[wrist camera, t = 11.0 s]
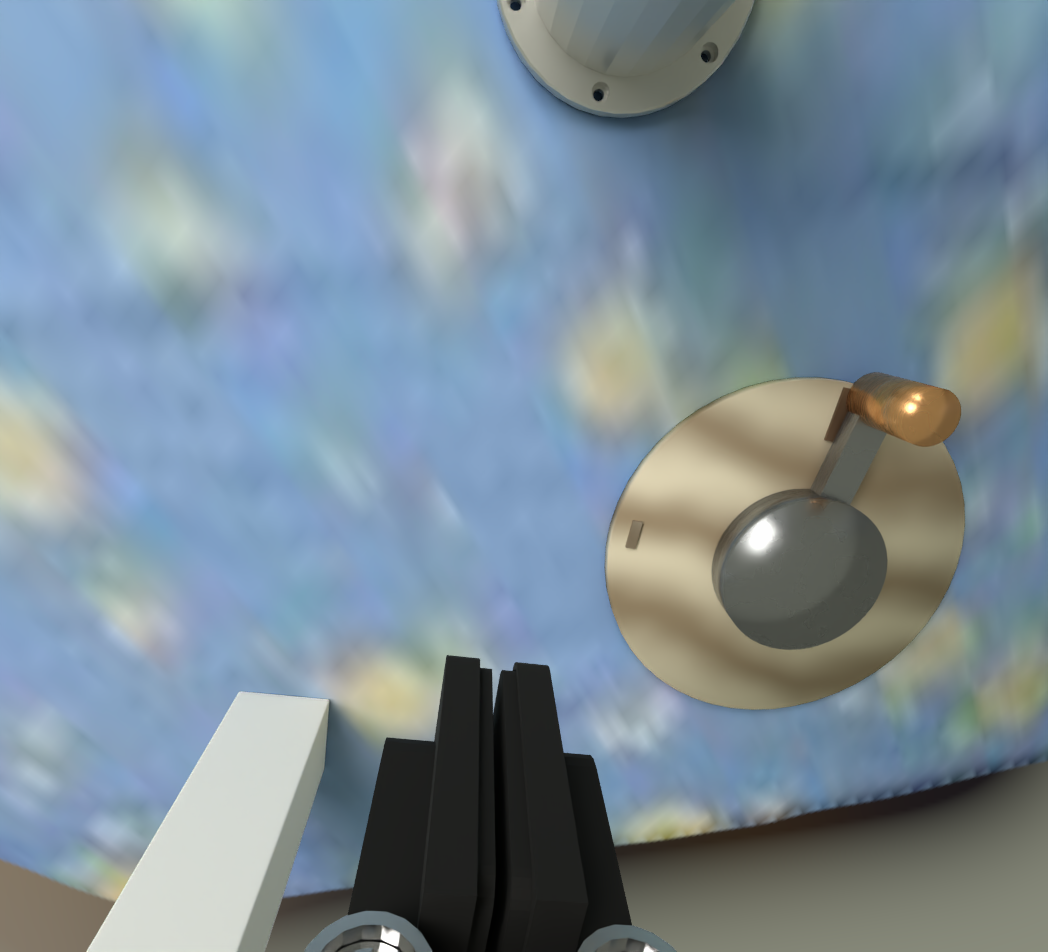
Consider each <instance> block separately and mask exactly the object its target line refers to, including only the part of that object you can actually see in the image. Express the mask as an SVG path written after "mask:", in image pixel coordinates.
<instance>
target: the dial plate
mask: <svg viewBox="0 0 1048 952" xmlns="http://www.w3.org/2000/svg"><path fill="white" fill-rule="evenodd" d="M852 385H853V383H850V382H846V381H842V380H835V379H827V378H820V377H795V378H787V379H779V380H772V381H767V382H763V383H760V384H756V385H752V386H748V387H745V388H742V389H740V390H737V391H735V392H732V393H730V394H727V395H725V396H722V397H720V398H718V399H716V400H715V401H713V402H711V403H709V404H707V405H706V406H704V407H702V408H700V409H698V410H697V411H695V412H694V413H693V414H691V415H690V416H688V417H687V418H686V419H684V420H683V421H681V422H680V423H679V424H677V425H676V426H675V427H674V428H673V429H672V430H671V431H670V432H668V433H667V434H666V435H665V436H664V437H663V438H662V439H661V440H660V441H659V442H658V443H657V444H656V445H655V446H654V447H653V448H652V450H651V451H650V452H649V453H648V454H647V455H646V457H645V458H644V459H643V460H642V461H641V463H640V464H639V466H638V467H637V469H636V470H635V472H634V473H633V475H632V476H631V478H630V479H629V481H628V483H627V485H626V487H625V489H624V491H623V493H622V495H621V497H620V499H619V501H618V503H617V506H616V509H615V511H614V514H613V517H612V520H611V523H610V527H609V532H608V537H607V542H606V551H605V577H606V588H607V592H608V596H609V600H610V605H611V608H612V611H613V614H614V616H615V619H616V621H617V623H618V626H619V628H620V631H621V633H622V635H623V637H624V638H625V640H626V642H627V643H628V645H629V647H630V648H631V650H632V651H633V652H634V654H635V655H636V656H637V657H638V659H639V660H640V661H641V662H642V663H643V665H644V666H645V667H647V668H648V669H649V670H650V671H651V672H652V673H653V674H654V675H655V676H657V677H658V678H659V679H660V680H662V681H663V682H665V683H666V684H668V685H669V686H671V687H672V688H674V689H676V690H678V691H680V692H682V693H684V694H686V695H688V696H690V697H692V698H695V699H698V700H701V701H704V702H707V703H710V704H714V705H719V706H724V707H729V708H739V709H751V710H754V709H776V708H783V707H790V706H796V705H800V704H804V703H808V702H812V701H816V700H818V699H821V698H824V697H827V696H830V695H832V694H835V693H837V692H840V691H842V690H844V689H846V688H848V687H850V686H852V685H854V684H856V683H858V682H860V681H861V680H863V679H864V678H866V677H868V676H869V675H871V674H873V673H874V672H876V671H877V670H879V669H880V668H881V667H882V666H884V665H885V664H886V663H888V662H889V661H890V660H892V659H893V658H894V657H895V656H896V655H897V654H899V653H900V652H901V651H902V650H903V649H904V648H905V647H906V646H907V645H908V644H909V643H910V642H911V641H912V640H913V639H914V638H915V637H916V635H917V634H918V633H919V632H920V631H921V630H922V629H923V627H924V626H925V625H926V624H927V622H928V621H929V619H930V618H931V616H932V615H933V614H934V612H935V611H936V609H937V608H938V606H939V604H940V603H941V601H942V599H943V597H944V595H945V593H946V592H947V590H948V588H949V585H950V583H951V580H952V578H953V575H954V573H955V570H956V568H957V564H958V560H959V557H960V553H961V549H962V543H963V535H964V527H965V511H964V499H963V493H962V487H961V482H960V479H959V476H958V473H957V470H956V467H955V464H954V462H953V460H952V458H951V456H950V454H949V452H948V451H947V449H946V447H945V445H944V443H943V442H941V443H939V444H937V445H934V446H930V447H920V446H916V445H914V444H911V443H909V442H906V441H904V440H902V439H899V438H897V437H894V436H892V435H889V434H886V436H885V438H884V440H883V442H882V444H881V446H880V448H879V449H878V451H877V453H876V455H875V457H874V459H873V461H872V463H871V465H870V467H869V469H868V471H867V473H866V475H865V477H864V479H863V481H862V482H861V484H860V486H859V488H858V490H857V492H856V494H855V496H854V498H853V500H852V502H851V504H850V505H851V506H853V507H854V508H856V509H857V510H859V511H861V512H862V513H863V514H865V515H866V516H867V517H868V518H869V519H870V520H871V521H872V522H873V523H874V524H875V525H876V527H877V528H878V530H879V531H880V533H881V535H882V537H883V540H884V542H885V546H886V550H887V560H888V561H887V573H886V578H885V582H884V585H883V588H882V590H881V592H880V594H879V596H878V598H877V600H876V602H875V603H874V605H873V606H872V608H871V609H870V610H869V612H868V613H867V614H866V615H865V616H864V617H863V618H862V619H861V620H860V621H859V622H858V623H857V624H856V625H855V626H854V627H852V628H851V629H850V630H849V631H847V632H846V633H844V634H842V635H841V636H839V637H837V638H835V639H833V640H831V641H829V642H827V643H824V644H821V645H818V646H815V647H811V648H805V649H797V650H784V649H776V648H771V647H768V646H765V645H762V644H759V643H757V642H755V641H753V640H752V639H750V638H749V637H747V636H746V635H745V634H743V633H742V632H741V631H740V630H739V629H738V628H737V626H736V625H735V624H734V623H733V621H732V620H731V618H730V617H729V615H728V614H727V613H726V611H725V610H724V608H723V607H722V605H721V604H720V602H719V600H718V599H717V597H716V594H715V591H714V588H713V583H712V572H711V570H712V561H713V557H714V552H715V550H716V547H717V544H718V542H719V540H720V538H721V536H722V535H723V533H724V531H725V530H726V529H727V527H728V526H729V524H730V523H731V522H732V521H733V520H734V519H735V518H736V517H737V516H738V515H739V514H740V513H741V512H742V511H743V510H744V509H746V508H747V507H749V506H750V505H752V504H753V503H755V502H756V501H758V500H760V499H762V498H764V497H766V496H769V495H771V494H774V493H777V492H781V491H784V490H791V489H805V488H806V489H810V488H811V486H812V484H813V482H814V480H815V478H816V476H817V474H818V472H819V469H820V467H821V465H822V463H823V461H824V459H825V457H826V455H827V453H828V451H829V449H830V447H831V445H832V443H833V441H834V439H835V437H836V435H837V433H838V431H839V429H840V427H841V425H842V422H843V420H844V418H845V416H846V414H847V412H848V410H847V406H846V400H847V395H848V392H849V390H850V388H851V387H852Z"/></svg>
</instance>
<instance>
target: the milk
mask: <svg viewBox="0 0 1048 952" xmlns="http://www.w3.org/2000/svg"><path fill="white" fill-rule="evenodd" d="M328 713H329V700H328V699H318V698H308V697H297V696H286V695H275V694H265V693H254V692H243V691H240V692H239V693H238V695H237V696H236V698H235V700H234V701H233V703H232V705H231V706H230V708H229V710H228V712H227V713H226V715H225V717H224V718H223V720H222V722H221V723H220V725H219V727H218V729H217V730H216V732H215V734H214V735H213V737H212V739H211V740H210V742H209V744H208V746H207V747H206V749H205V751H204V752H203V754H202V756H201V758H200V759H199V761H198V763H197V764H196V766H195V768H194V769H193V771H192V773H191V775H190V776H189V778H188V780H187V781H186V783H185V785H184V786H183V788H182V790H181V792H180V793H179V795H178V797H177V798H176V800H175V802H174V803H173V805H172V807H171V809H170V810H169V812H168V814H167V815H166V817H165V819H164V821H163V822H162V824H161V826H160V827H159V829H158V831H157V832H156V834H155V836H154V838H153V839H152V841H151V843H150V844H149V846H148V848H147V849H146V851H145V853H144V855H143V856H142V858H141V860H140V861H139V863H138V865H137V866H136V868H135V870H134V872H133V873H132V875H131V877H130V878H129V880H128V882H127V883H126V885H125V887H124V889H123V890H122V892H121V894H120V895H119V897H118V899H117V901H116V902H115V904H114V906H113V907H112V909H111V911H110V912H109V914H108V916H107V918H106V919H105V921H104V923H103V924H102V926H101V928H100V930H99V931H98V933H97V935H96V936H95V938H94V940H93V941H92V943H91V945H90V946H89V948H88V950H87V952H265V949H266V946H267V943H268V940H269V937H270V934H271V931H272V928H273V924H274V921H275V918H276V915H277V912H278V909H279V906H280V903H281V900H282V897H283V894H284V891H285V888H286V885H287V882H288V878H289V875H290V872H291V869H292V866H293V863H294V860H295V857H296V854H297V851H298V848H299V845H300V842H301V839H302V835H303V832H304V829H305V826H306V823H307V820H308V817H309V814H310V811H311V808H312V805H313V802H314V799H315V796H316V792H317V789H318V786H319V783H320V780H321V777H322V774H323V771H324V766H325V753H326V740H327V727H328Z"/></svg>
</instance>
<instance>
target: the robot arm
mask: <svg viewBox="0 0 1048 952" xmlns="http://www.w3.org/2000/svg"><path fill="white" fill-rule="evenodd" d="M754 1H755V0H497V6H498V9H499V12H500V15H501V18H502V21H503V24H504V27H505V30H506V33H507V36H508V37H509V39H510V41H511V43H512V45H513V47H514V49H515V51H516V53H517V54H518V56H519V58H520V60H521V61H522V62H523V64H524V65H525V66H526V67H527V69H528V70H529V71H530V73H531V74H532V75H533V76H534V78H535V79H536V80H537V81H538V82H539V83H540V84H541V85H543V86H544V87H545V88H546V89H547V90H548V91H549V92H551V93H552V94H553V95H554V96H555V97H557V98H559V99H560V100H562V101H564V102H566V103H567V104H569V105H571V106H573V107H574V108H576V109H579V110H582V111H585V112H588V113H592V114H595V115H598V116H606V117H617V118H626V117H634V116H642V115H647V114H650V113H653V112H656V111H658V110H661V109H664V108H667V107H669V106H671V105H673V104H674V103H676V102H678V101H679V100H681V99H683V98H684V97H686V96H688V95H689V94H691V93H692V92H693V91H694V90H695V89H696V88H698V87H699V86H700V85H701V84H703V83H704V82H705V81H706V80H707V79H708V78H709V77H710V76H711V75H712V74H713V73H714V72H715V71H716V70H717V69H718V68H719V67H720V66H721V64H722V63H723V62H724V61H725V59H726V57H727V56H728V54H729V53H730V51H731V50H732V48H733V47H734V45H735V44H736V42H737V41H738V39H739V38H740V36H741V33H742V31H743V29H744V27H745V24H746V22H747V20H748V18H749V16H750V13H751V11H752V8H753V4H754ZM513 2H518V3H519V4H520V6H521V8H520V10H518V11H513V10H512V9H511V7H510V5H511V3H513ZM701 53H705V54H706V55H707V57H708V61H707V63H705V62H704V61H703V60H702V58H701ZM596 91H599V92H600V93H601V94H602V100H601V101H596V100H595V99H594V97H593V93H594V92H596ZM304 952H676V950H675V949H674V948H673V947H672V946H671V945H669V944H668V943H667V942H665V941H664V940H662V939H661V938H659V937H658V936H657V935H655V934H654V933H652V932H649V931H646V930H644V929H641V928H638V927H635V926H632V923H631V919H630V914H629V910H628V905H627V901H626V897H625V892H624V888H623V883H622V879H621V875H620V870H619V866H618V861H617V857H616V853H615V848H614V844H613V839H612V835H611V831H610V826H609V822H608V817H607V813H606V808H605V804H604V800H603V795H602V791H601V786H600V782H599V778H598V773H597V769H596V765H595V762H594V759H593V758H592V756H591V755H583V754H571V753H563V747H562V741H561V735H560V729H559V723H558V716H557V710H556V704H555V698H554V692H553V686H552V680H551V674H550V669H549V666H547V665H538V664H528V663H518V662H516V663H515V664H514V667H513V671H506V670H502V671H501V674H500V678H499V684H498V690H497V696H496V701H495V707H494V713H493V695H492V669H486V668H480V659H479V658H469V657H459V656H449V655H447V657H446V663H445V670H444V677H443V684H442V691H441V698H440V705H439V712H438V719H437V726H436V733H435V740H434V742H432V741H420V740H409V739H397V738H386V741H385V744H384V749H383V753H382V758H381V763H380V767H379V772H378V777H377V781H376V786H375V791H374V795H373V800H372V805H371V809H370V814H369V819H368V823H367V828H366V833H365V837H364V842H363V846H362V851H361V856H360V860H359V865H358V870H357V874H356V879H355V884H354V888H353V893H352V898H351V902H350V907H349V912H348V915H347V916H344V917H343V918H341V919H339V920H337V921H336V922H334V923H332V924H331V925H329V926H327V927H326V928H324V929H323V930H322V931H321V932H320V933H319V934H318V935H317V936H316V937H315V938H314V939H313V940H312V941H311V942H310V943H309V944H308V946H307V947H306V949H305V951H304Z"/></svg>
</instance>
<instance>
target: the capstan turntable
mask: <svg viewBox="0 0 1048 952" xmlns="http://www.w3.org/2000/svg"><path fill="white" fill-rule="evenodd" d="M846 406H847V410H848V412H847V414H846V416H845V418H844V420H843V422H842V425H841V427H840V429H839V431H838V433H837V435H836V437H835V439H834V441H833V443H832V445H831V447H830V449H829V451H828V453H827V455H826V457H825V459H824V461H823V463H822V465H821V467H820V469H819V472H818V474H817V476H816V478H815V480H814V482H813V484H812V486H811V488H810V489H806V488H805V489H791V490H784V491H781V492H777V493H774V494H771V495H769V496H766V497H764V498H762V499H760V500H758V501H756V502H755V503H753V504H752V505H750V506H749V507H747V508H746V509H744V510H743V511H742V512H741V513H740V514H739V515H738V516H737V517H736V518H735V519H734V520H733V521H732V522H731V523H730V524H729V526H728V527H727V529H726V530H725V531H724V533H723V535H722V536H721V538H720V540H719V542H718V544H717V547H716V550H715V552H714V557H713V561H712V570H711V572H712V583H713V588H714V591H715V594H716V597H717V599H718V600H719V602H720V604H721V605H722V607H723V608H724V610H725V611H726V613H727V614H728V615H729V617H730V618H731V620H732V621H733V623H734V624H735V625H736V626H737V628H738V629H739V630H740V631H741V632H742V633H743V634H745V635H746V636H747V637H749V638H750V639H752V640H753V641H755V642H757V643H759V644H762V645H765V646H768V647H771V648H776V649H784V650H797V649H805V648H811V647H815V646H818V645H821V644H824V643H827V642H829V641H831V640H833V639H835V638H837V637H839V636H841V635H842V634H844V633H846V632H847V631H849V630H850V629H851V628H852V627H854V626H855V625H856V624H857V623H858V622H859V621H860V620H861V619H862V618H863V617H864V616H865V615H866V614H867V613H868V612H869V610H870V609H871V608H872V606H873V605H874V603H875V602H876V600H877V598H878V596H879V594H880V592H881V590H882V588H883V585H884V582H885V578H886V573H887V561H888V560H887V550H886V546H885V542H884V540H883V537H882V535H881V533H880V531H879V530H878V528H877V527H876V525H875V524H874V523H873V522H872V521H871V520H870V519H869V518H868V517H867V516H866V515H865V514H863V513H862V512H861V511H859V510H857V509H856V508H854V507H853V506H851V505H850V504H851V502H852V500H853V498H854V496H855V494H856V492H857V490H858V488H859V486H860V484H861V482H862V481H863V479H864V477H865V475H866V473H867V471H868V469H869V467H870V465H871V463H872V461H873V459H874V457H875V455H876V453H877V451H878V449H879V448H880V446H881V444H882V442H883V440H884V438H885V436H886V434H889V435H892V436H894V437H897V438H899V439H902V440H904V441H906V442H909V443H911V444H914V445H916V446H920V447H930V446H934V445H937V444H939V443H941V442H943V441H944V440H946V439H947V438H948V437H949V436H950V435H951V434H952V433H953V432H954V430H955V429H956V427H957V425H958V423H959V420H960V416H961V406H960V402H959V400H958V398H957V397H956V396H955V395H954V394H953V393H952V392H951V391H949V390H946V389H942V388H938V387H934V386H931V385H927V384H923V383H919V382H915V381H911V380H907V379H904V378H900V377H896V376H892V375H888V374H884V373H879V372H874V373H869V374H866V375H864V376H862V377H861V378H859V379H858V380H857V381H856V382H855V383H854V384H853V385H852V387H851V388H850V390H849V392H848V395H847V400H846Z"/></svg>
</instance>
